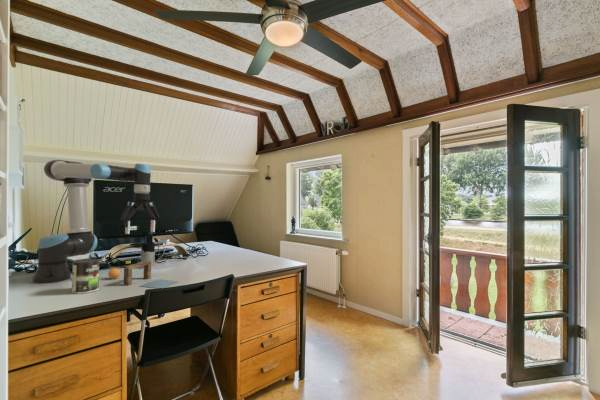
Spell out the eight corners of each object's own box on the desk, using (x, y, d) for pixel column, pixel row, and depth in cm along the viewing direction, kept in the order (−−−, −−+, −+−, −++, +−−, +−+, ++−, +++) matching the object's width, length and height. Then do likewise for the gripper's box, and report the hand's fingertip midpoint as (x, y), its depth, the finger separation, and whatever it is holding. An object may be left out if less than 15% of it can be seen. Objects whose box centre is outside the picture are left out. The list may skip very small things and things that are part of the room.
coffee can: (104, 288, 137) (105, 259, 137) (84, 294, 127) (85, 263, 127) (86, 286, 139) (87, 257, 139) (65, 292, 129) (66, 261, 129)
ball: (105, 279, 152) (105, 269, 152) (114, 276, 157) (115, 267, 157) (113, 280, 150) (113, 270, 150) (122, 277, 156) (122, 267, 156)
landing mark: (139, 286, 141) (139, 285, 141) (158, 279, 154) (158, 279, 154) (160, 288, 137) (160, 288, 137) (178, 281, 150) (178, 281, 150)
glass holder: (140, 266, 184) (141, 243, 185) (164, 264, 190) (165, 242, 191) (139, 269, 176) (139, 245, 177) (164, 267, 182) (165, 244, 183)
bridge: (123, 284, 143) (123, 266, 143) (146, 277, 157) (146, 261, 157) (128, 285, 142) (128, 267, 142) (150, 278, 156) (151, 261, 156)
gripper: (121, 191, 138) (119, 235, 138) (167, 194, 160) (166, 231, 160) (113, 191, 142) (111, 233, 142) (159, 193, 164) (158, 230, 164)
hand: (140, 232), depth 151 cm, fingers open, 13 cm apart
